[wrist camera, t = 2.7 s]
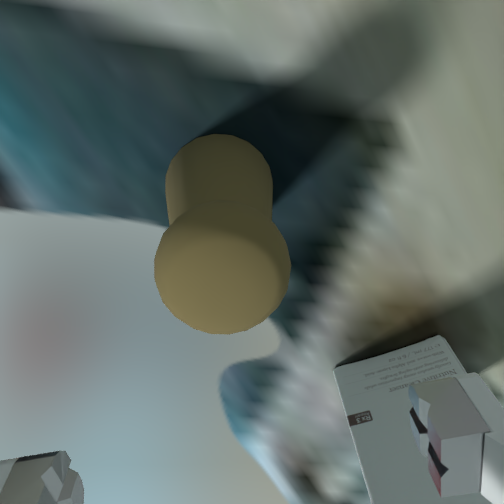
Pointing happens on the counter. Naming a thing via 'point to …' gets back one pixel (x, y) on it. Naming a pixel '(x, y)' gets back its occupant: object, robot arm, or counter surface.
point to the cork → (221, 238)
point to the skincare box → (395, 421)
